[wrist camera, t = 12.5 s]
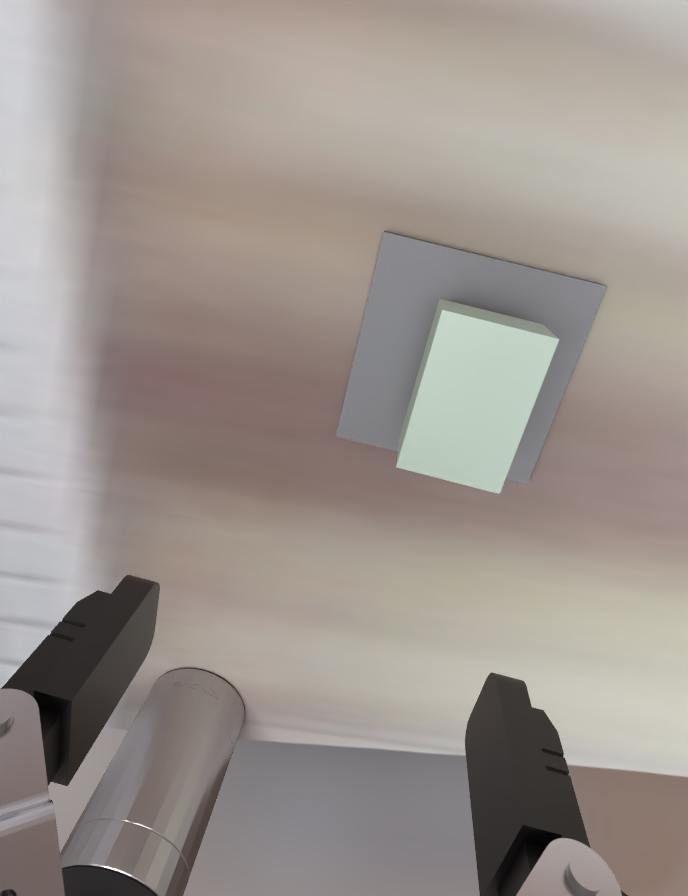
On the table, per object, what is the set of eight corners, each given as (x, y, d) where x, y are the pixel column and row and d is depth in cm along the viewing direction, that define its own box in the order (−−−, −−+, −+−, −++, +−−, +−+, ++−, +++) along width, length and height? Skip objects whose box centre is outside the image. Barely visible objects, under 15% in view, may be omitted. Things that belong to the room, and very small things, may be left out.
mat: (524, 477, 41) (527, 485, 40) (337, 430, 41) (335, 436, 40) (601, 284, 35) (606, 286, 34) (384, 231, 36) (383, 231, 35)
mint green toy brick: (530, 312, 35) (559, 339, 28) (484, 440, 39) (499, 494, 32) (437, 289, 36) (442, 309, 28) (400, 419, 39) (396, 467, 32)
